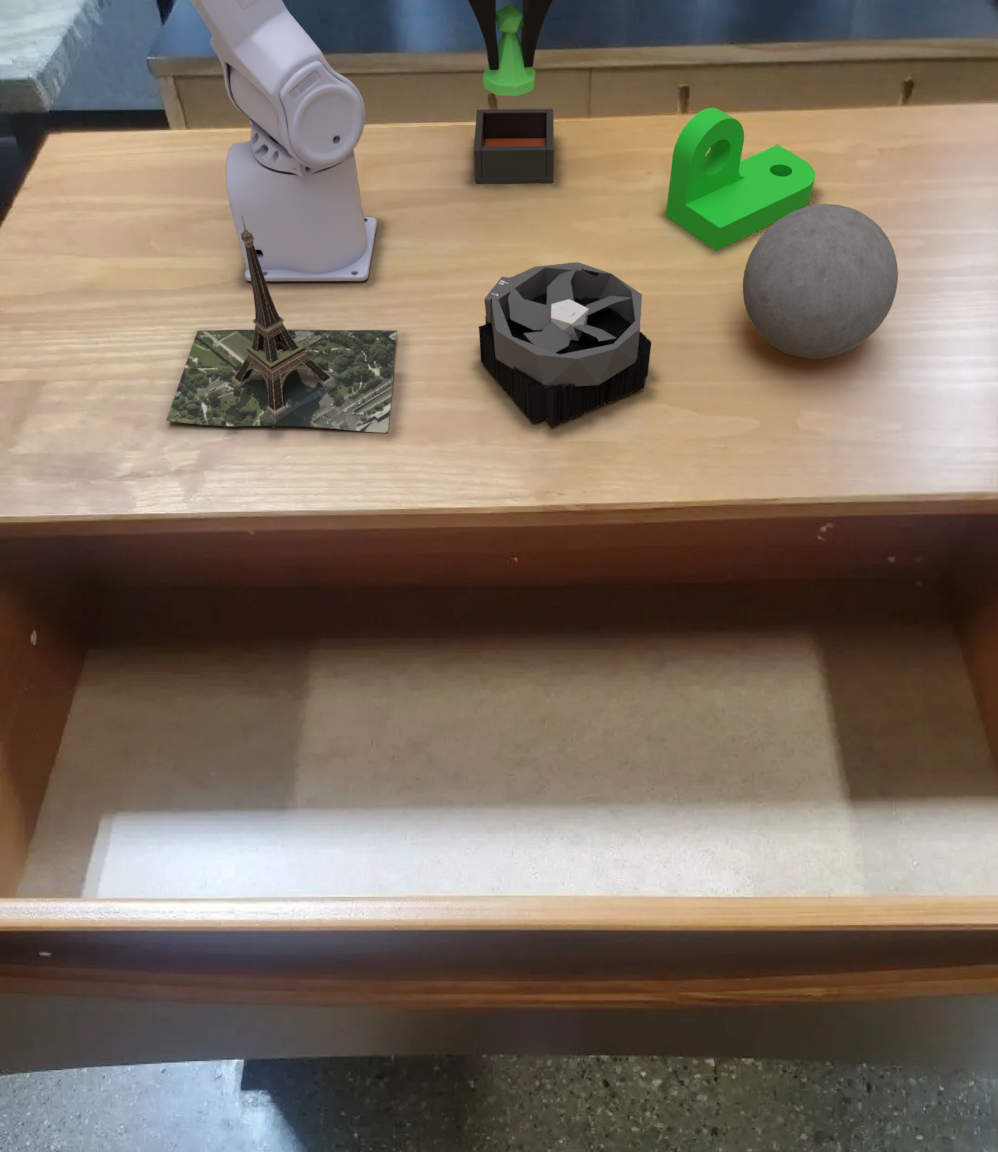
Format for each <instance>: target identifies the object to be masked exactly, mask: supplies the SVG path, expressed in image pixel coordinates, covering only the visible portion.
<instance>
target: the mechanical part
mask: <svg viewBox="0 0 998 1152" xmlns="http://www.w3.org/2000/svg"><path fill="white" fill-rule="evenodd" d="M744 143H745V131H744V127H743V125H742V123H741V122H740V121H739V120H737V119H736V118H735V117H733V116H731V115H729V114H727V113H726V112H724V111H723V110H721V109H719V108H717V107H707V108H704V109H702V110H700V111H698V113H696V114H694V116H692V117H691V118H690V120H688V121H687V123H686V124H685V125H684V127H683V128H682V130H681V131H680V133H679V135H678V137H677V140H676V141H675V145H674V148H673V152H672V160H671V167H670V168H671V169H670V176H669V184H668V193H667V200H666V201H667V202H666V211H665V216H666V217H667V218H668V219H670V220H671V221H672V222H674V223H676V224H677V225H678V226H680V227H681V228H683V230H686V231H687V232H689V233H690V234H691V235H693V236H694V237H696V238H697V239H698V240H700V241H701V242H703V243H704V244H706V245H707V246H708V247H710V248H711V249H713V250H714V251H716V252H717V251H719V250H721V249H723V248H725V247H727V246H729V245H732V244H734V243H735V242H738V241H740V240H742V239H744V238H746V237H748V236H750V235H752V234H754V233H756V232H759V231H760V230H763V229H765V228H767V227H770V226H772V225H773V224H774V223H775V222H777V221H778V220H779V219H781V218H782V217H784V216H786V215H787V214H789V213H791V212H794V211H796V210H798V209H801V208H804V207H808V205H809V203H810V199H811V197H812V191H813V188H814V183H815V178H816V172H815V169H814V167H813V166H812V165H811V164H810V163H809V162H808V161H807V160H805V159H803V158H801V157H800V156H798V155H797V154H795V153H793V152H791V151H790V150H788V149H786V148H785V147H784V146H781V145H779V144H775V145H773V146H771V147H770V148H766V149H765V150H762V151H760V152H757V153H756V154H753V155H751V156H748V157H747V158H744V159H742V153H743V148H744ZM741 159H742V160H741Z"/></svg>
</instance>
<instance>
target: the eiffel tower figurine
mask: <svg viewBox="0 0 998 1152" xmlns="http://www.w3.org/2000/svg"><path fill="white" fill-rule="evenodd" d="M241 217H242V221H243V225H244V228H245V224H244V220H243V216H241ZM241 237H242V238H241V240H242V241H243V242H244V244H245V249H246V254H247V259H248V265H249V271H250V277H251V281H250V283H251V287H252V295H253V302H254V303H253V305H254V312H255V313H254V314H255V315H254V319H253V320H252V323H253V324H254V329H217V330H216V329H215V330H213V329H211V330H209V329H207V330H201V329H199V330H197V331H196V334H195V336H194V340H193V343H192V346H191V348H190V351H189V354H188V357H187V360H186V363H185V366H184V368H183V371H182V374H181V377H180V380H179V383H178V385H177V388H176V390H175V394H174V397H173V399H172V403H171V405H170V409H169V411H168V414H167V417H166V419H165V421H166V422H174V423H183V424H190V425H192V424H193V425H203V426H216V427H262V426H263V427H269V426H270V427H272V428H273V429H275V428H277V427H279V426H280V427H308V428H321V429H332V430H343V431H344V430H345V431H355V432H364V433H380V434H388V432H389V423H390V414H391V406H392V397H393V390H394V389H393V387H394V372H395V371H394V368H395V367H394V366H395V352H396V344H397V334H398V330H394V329H393V330H392V329H390V330H389V329H361V330H359V329H356V330H355V329H352V330H351V329H347V330H345V329H340V330H339V329H338V330H337V329H287V328H286V326H285V324H284V322H285V319H284V318H283V317H281V316H280V314H279V313H278V310H277V308H276V305H275V303H274V300H273V299H272V296H271V292H270V290H269V287H268V284H267V281H265V278H264V275H263V272H262V269H261V266H260V263H259V260H258V257H257V254H256V251H255V247H254V243H253V240H254V237H253V235H252V233H250V232H249V231H248V230H246V228H245V229H244V232H243V233H241Z"/></svg>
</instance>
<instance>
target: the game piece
mask: <svg viewBox="0 0 998 1152" xmlns="http://www.w3.org/2000/svg"><path fill="white" fill-rule="evenodd" d="M523 26H524V21H523V15H522V8H521V7H519V6H516V5H514V4H511V3H508V4H505V5H503V6H501V7H500V8H499V9H498V10H497V11H496V27H497V30H498V31H499V32H502V35H501V37H500V40H499V43H498V44H497V46H498V56H499V70H490V69H489V65H487V66H485V69H484V73H483V75H482V88H484V89H486V90H487V91H489V92H490V93H492V94H494V95H495V96H502V97H503V96H504V97H519V96H521V95H524V94H527V93H529V92H532V91H534V87H535V83H536V70H535V69H534V68H533V67H526V68H524V59H523V49H522V46H521V40H520V39H519V38H520V37H519V35H518V33H517V32H518V31H519V30H520V29H522V27H523Z"/></svg>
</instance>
